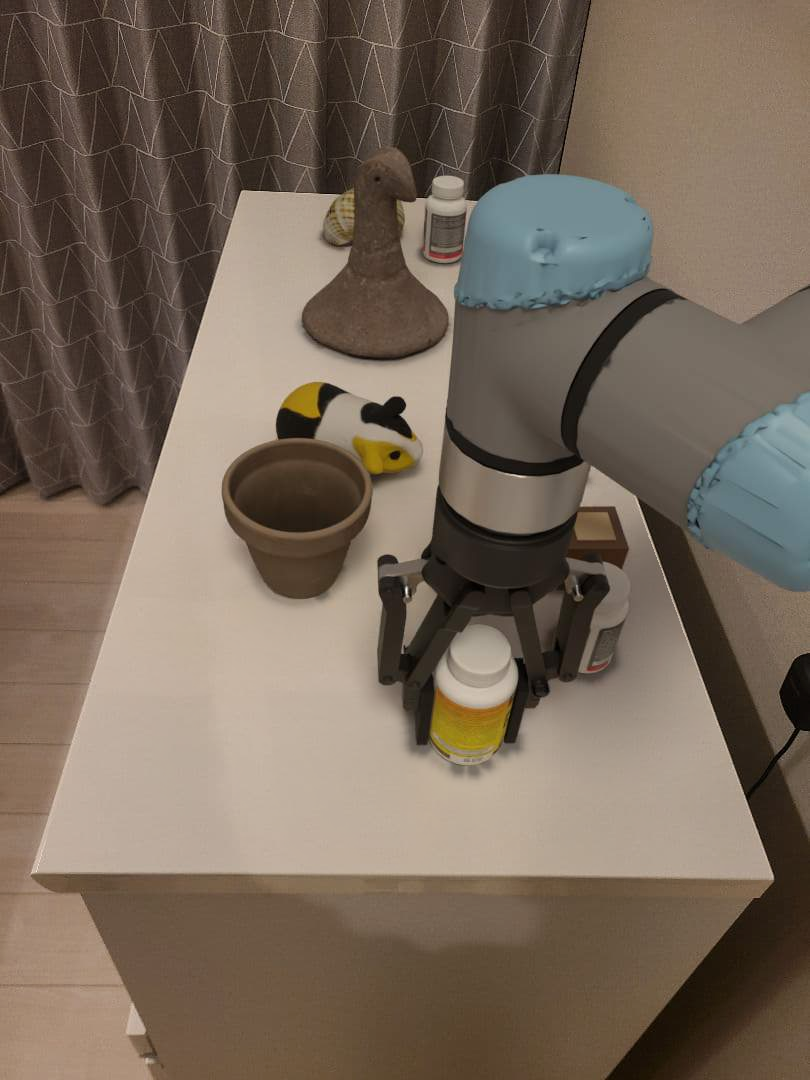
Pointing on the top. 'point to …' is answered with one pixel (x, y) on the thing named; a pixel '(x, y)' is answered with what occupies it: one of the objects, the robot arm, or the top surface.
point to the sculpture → (377, 275)
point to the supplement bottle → (473, 695)
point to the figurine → (351, 426)
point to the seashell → (347, 219)
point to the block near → (598, 536)
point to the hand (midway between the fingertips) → (464, 726)
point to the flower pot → (297, 510)
